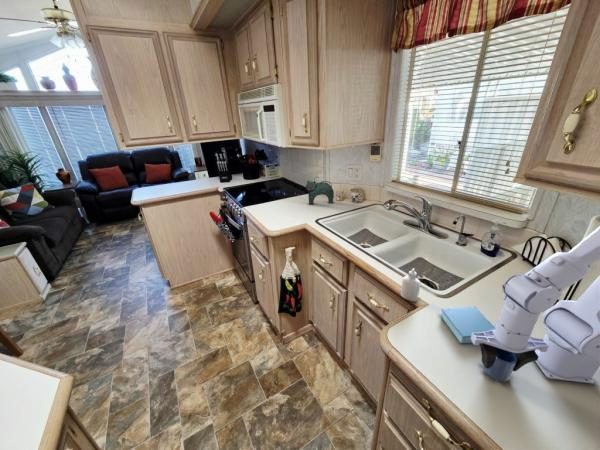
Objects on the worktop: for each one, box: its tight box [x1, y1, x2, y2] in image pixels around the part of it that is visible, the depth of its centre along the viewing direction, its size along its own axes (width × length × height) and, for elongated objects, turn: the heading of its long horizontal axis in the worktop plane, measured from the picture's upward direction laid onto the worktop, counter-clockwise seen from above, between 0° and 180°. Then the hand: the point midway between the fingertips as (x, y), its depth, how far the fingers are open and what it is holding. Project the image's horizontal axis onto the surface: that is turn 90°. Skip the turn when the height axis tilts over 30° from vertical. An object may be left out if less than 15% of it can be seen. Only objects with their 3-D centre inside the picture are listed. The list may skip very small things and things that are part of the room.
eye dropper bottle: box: [400, 268, 421, 302], centre depth 85 cm, size 4×6×12 cm
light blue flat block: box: [441, 306, 496, 344], centre depth 74 cm, size 11×11×3 cm
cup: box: [482, 347, 518, 383], centre depth 60 cm, size 5×5×6 cm
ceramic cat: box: [305, 176, 335, 206], centre depth 178 cm, size 20×6×20 cm, turn 90°
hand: (498, 366), depth 60 cm, fingers closed on cup, 5 cm apart
